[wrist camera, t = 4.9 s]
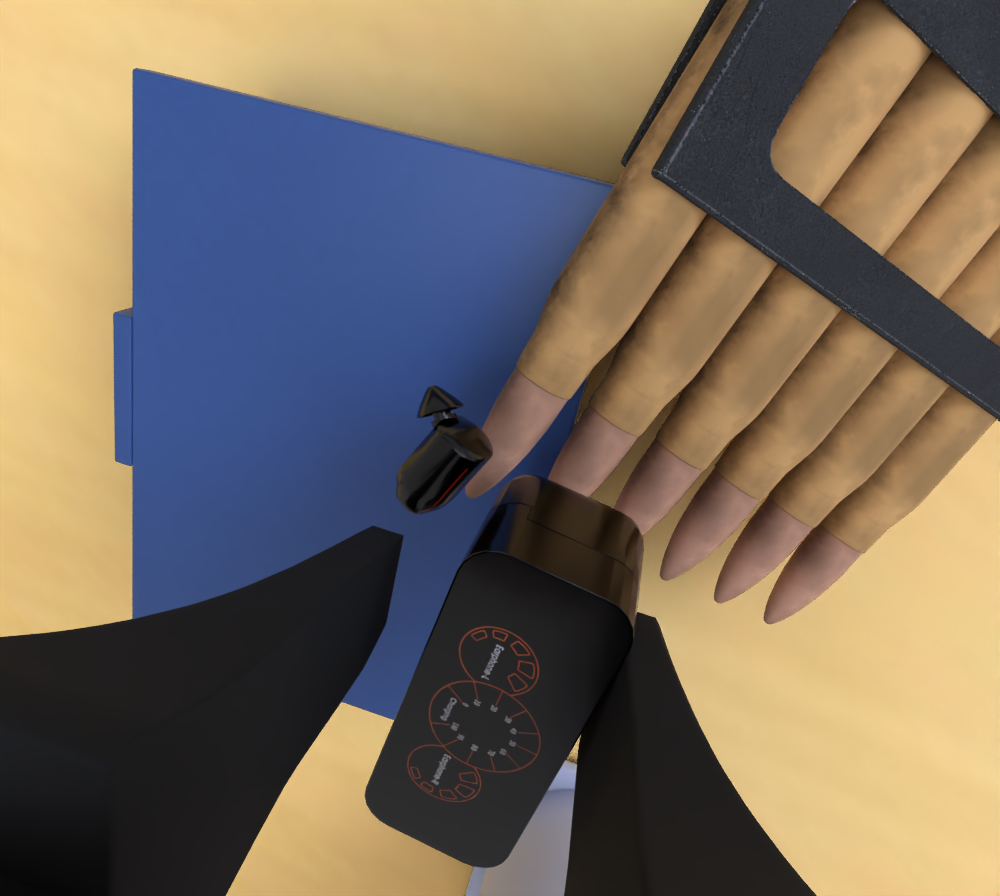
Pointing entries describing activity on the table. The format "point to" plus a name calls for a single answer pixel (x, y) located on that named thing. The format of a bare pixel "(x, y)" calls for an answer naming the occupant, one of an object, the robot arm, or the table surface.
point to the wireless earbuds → (503, 649)
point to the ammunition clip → (785, 288)
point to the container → (318, 342)
